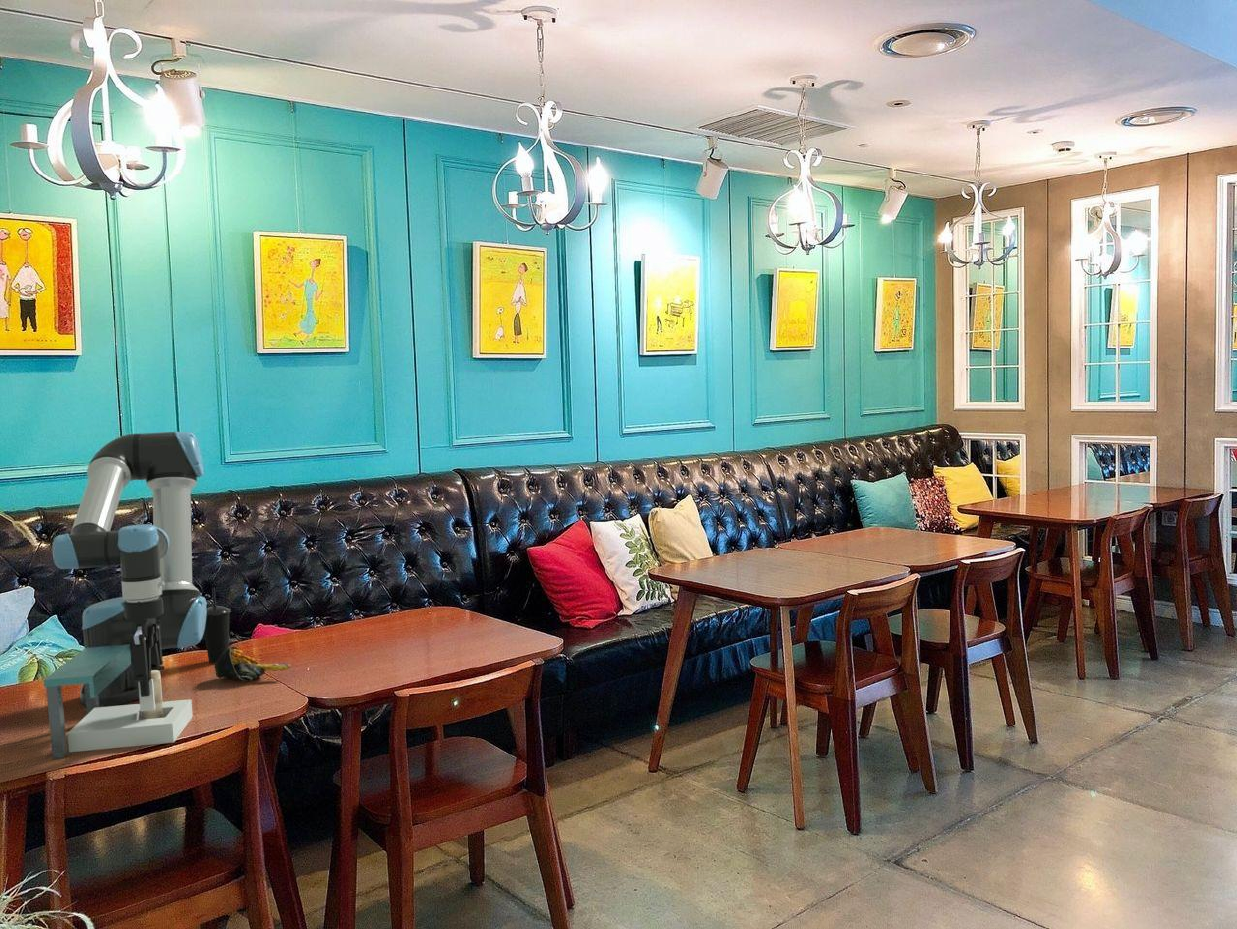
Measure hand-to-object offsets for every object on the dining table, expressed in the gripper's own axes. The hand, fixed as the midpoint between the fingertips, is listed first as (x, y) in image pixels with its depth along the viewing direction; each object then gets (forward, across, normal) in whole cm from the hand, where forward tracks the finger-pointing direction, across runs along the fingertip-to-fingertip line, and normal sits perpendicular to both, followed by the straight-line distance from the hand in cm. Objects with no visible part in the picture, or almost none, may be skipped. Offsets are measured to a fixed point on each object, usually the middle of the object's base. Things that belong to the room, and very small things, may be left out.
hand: (151, 705), depth 209 cm
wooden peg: (+5, 0, 0) cm, 5 cm away
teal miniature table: (+6, 0, +12) cm, 13 cm away
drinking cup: (+6, +54, -2) cm, 54 cm away
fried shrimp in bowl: (+6, +34, -14) cm, 37 cm away
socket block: (+6, 0, +4) cm, 7 cm away
